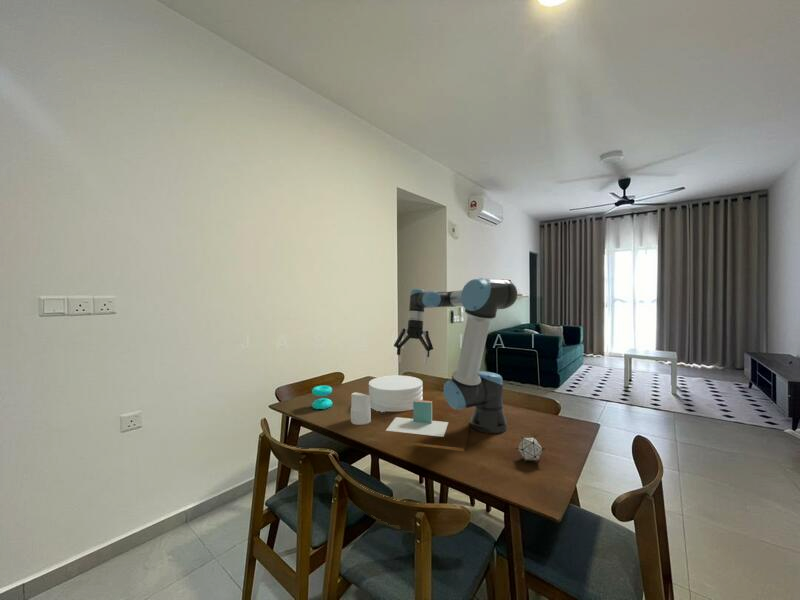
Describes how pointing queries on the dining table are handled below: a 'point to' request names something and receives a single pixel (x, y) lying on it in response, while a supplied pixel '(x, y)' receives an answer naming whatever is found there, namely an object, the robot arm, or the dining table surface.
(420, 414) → the teal rectangular slab
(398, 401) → the plate stack
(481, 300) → the robot arm
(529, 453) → the game die
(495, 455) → the dining table surface
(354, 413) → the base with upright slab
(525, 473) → the dining table surface
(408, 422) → the cutting board
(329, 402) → the donuts
